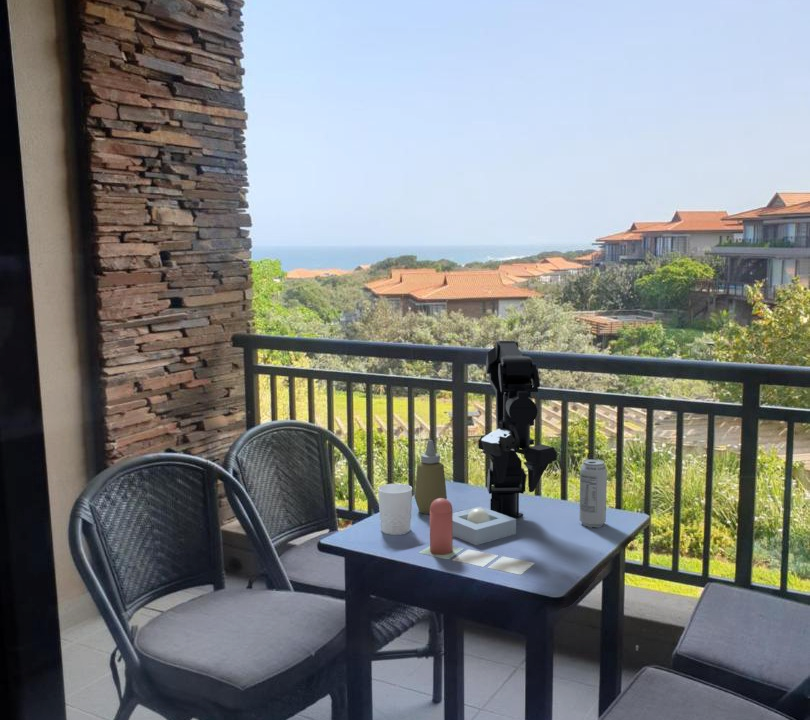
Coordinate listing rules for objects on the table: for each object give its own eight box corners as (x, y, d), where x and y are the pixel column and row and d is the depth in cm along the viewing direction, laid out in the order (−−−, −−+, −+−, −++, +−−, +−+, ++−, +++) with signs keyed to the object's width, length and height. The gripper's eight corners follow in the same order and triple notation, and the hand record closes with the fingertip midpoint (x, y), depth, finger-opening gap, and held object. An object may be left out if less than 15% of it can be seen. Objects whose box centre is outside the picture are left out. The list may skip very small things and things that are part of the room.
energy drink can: (611, 525, 186) (612, 463, 184) (590, 529, 183) (591, 466, 181) (594, 518, 191) (595, 457, 189) (574, 522, 188) (575, 460, 187)
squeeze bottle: (407, 510, 198) (407, 439, 196) (432, 504, 203) (432, 435, 201) (428, 518, 192) (427, 445, 190) (453, 512, 197) (453, 440, 195)
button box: (480, 522, 189) (480, 506, 188) (516, 536, 179) (516, 518, 179) (441, 533, 182) (441, 516, 181) (475, 547, 172) (475, 529, 172)
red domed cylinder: (450, 546, 172) (450, 494, 170) (454, 554, 167) (454, 501, 166) (428, 547, 171) (427, 495, 170) (432, 555, 166) (431, 502, 165)
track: (539, 565, 162) (539, 562, 162) (523, 579, 155) (523, 576, 155) (433, 543, 175) (433, 541, 175) (413, 555, 168) (413, 553, 168)
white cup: (408, 537, 179) (408, 493, 178) (375, 534, 181) (374, 492, 180) (415, 525, 187) (415, 484, 186) (383, 523, 189) (382, 482, 188)
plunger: (479, 527, 184) (479, 504, 183) (493, 532, 180) (494, 509, 179) (462, 531, 181) (462, 508, 180) (477, 537, 177) (477, 513, 176)
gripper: (459, 414, 173) (459, 484, 175) (520, 427, 158) (519, 504, 160) (497, 408, 180) (497, 475, 181) (559, 420, 165) (558, 494, 166)
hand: (516, 487), depth 172 cm, fingers open, 9 cm apart
